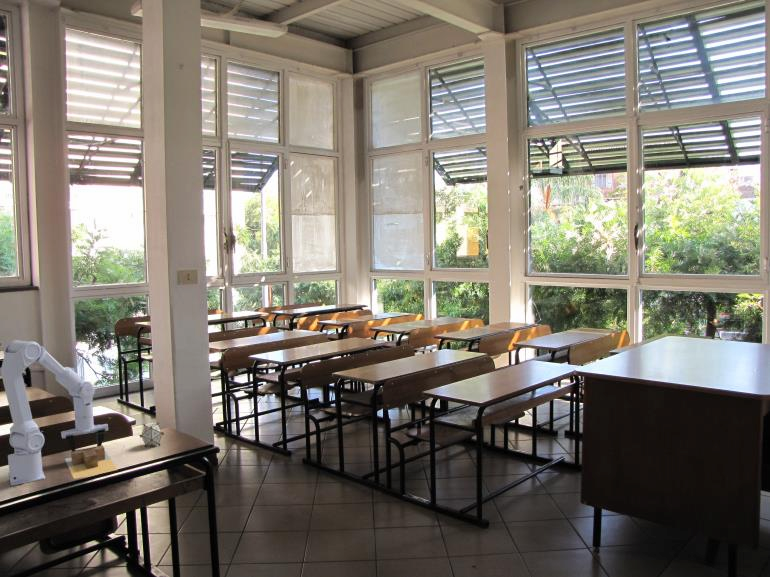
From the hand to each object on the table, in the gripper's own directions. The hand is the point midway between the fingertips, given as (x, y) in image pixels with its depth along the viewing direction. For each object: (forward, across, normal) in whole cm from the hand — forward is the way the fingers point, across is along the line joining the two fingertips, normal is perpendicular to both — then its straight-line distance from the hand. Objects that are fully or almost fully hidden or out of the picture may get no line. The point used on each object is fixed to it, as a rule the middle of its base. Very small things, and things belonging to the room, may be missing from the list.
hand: (86, 454), depth 226 cm
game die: (+2, +22, +1) cm, 22 cm away
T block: (+1, 0, -7) cm, 7 cm away
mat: (+2, 0, -7) cm, 7 cm away
